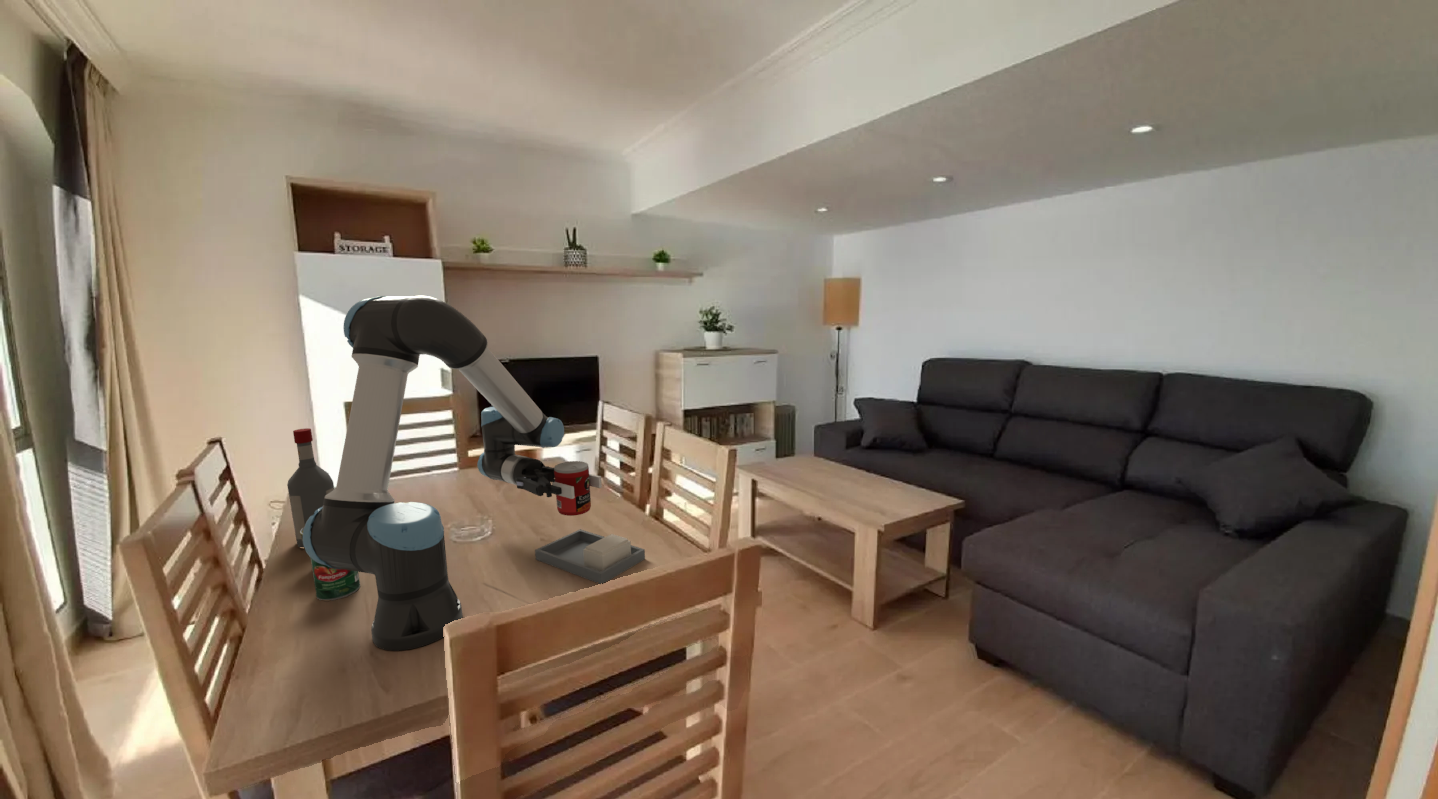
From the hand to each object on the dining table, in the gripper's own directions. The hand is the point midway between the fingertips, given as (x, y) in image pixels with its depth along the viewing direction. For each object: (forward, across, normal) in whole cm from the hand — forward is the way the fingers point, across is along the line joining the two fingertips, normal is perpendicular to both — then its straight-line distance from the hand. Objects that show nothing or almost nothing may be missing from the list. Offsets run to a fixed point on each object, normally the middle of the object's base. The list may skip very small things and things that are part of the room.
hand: (586, 487), depth 126 cm
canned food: (-5, 0, -7) cm, 8 cm away
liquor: (-70, +30, -19) cm, 78 cm away
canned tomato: (-37, +39, -18) cm, 56 cm away
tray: (0, 0, -18) cm, 18 cm away
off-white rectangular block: (+6, 0, -18) cm, 19 cm away
